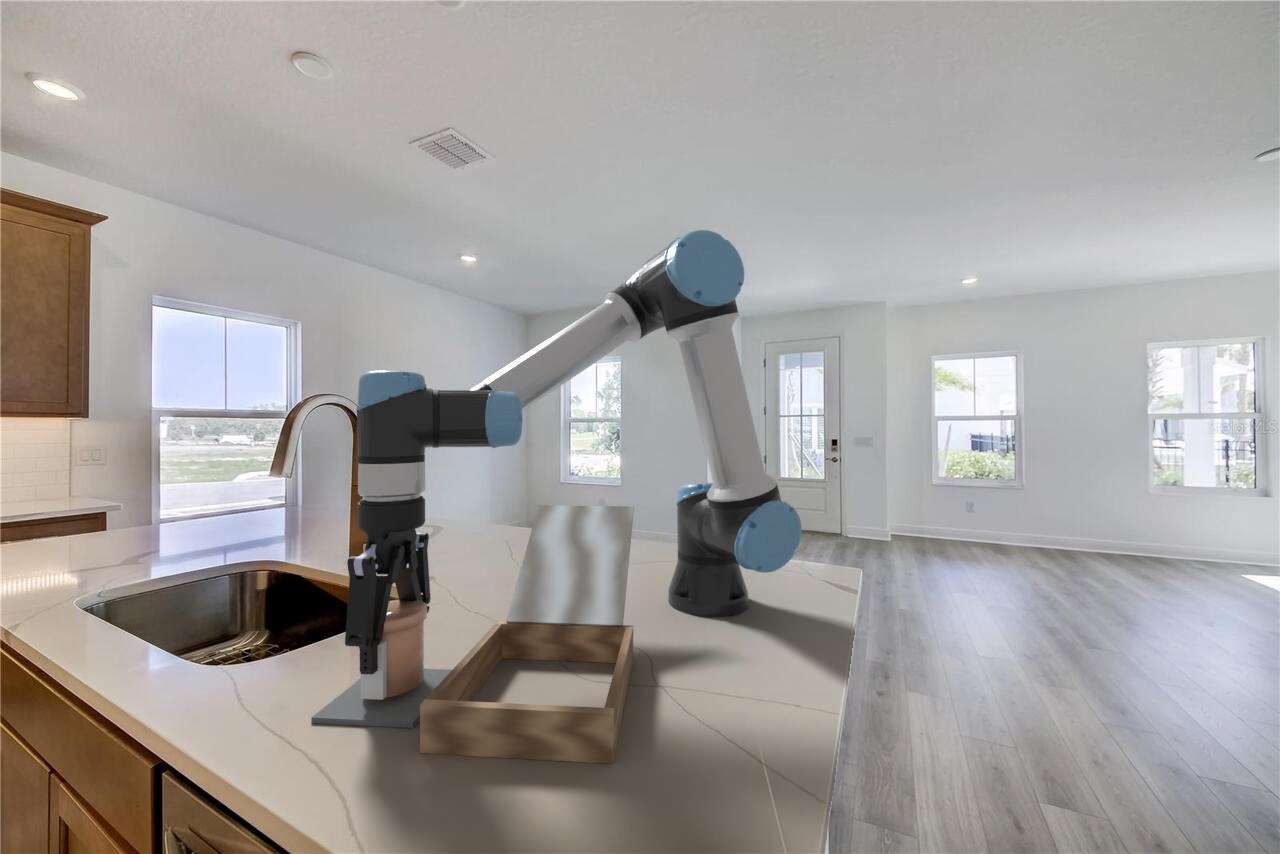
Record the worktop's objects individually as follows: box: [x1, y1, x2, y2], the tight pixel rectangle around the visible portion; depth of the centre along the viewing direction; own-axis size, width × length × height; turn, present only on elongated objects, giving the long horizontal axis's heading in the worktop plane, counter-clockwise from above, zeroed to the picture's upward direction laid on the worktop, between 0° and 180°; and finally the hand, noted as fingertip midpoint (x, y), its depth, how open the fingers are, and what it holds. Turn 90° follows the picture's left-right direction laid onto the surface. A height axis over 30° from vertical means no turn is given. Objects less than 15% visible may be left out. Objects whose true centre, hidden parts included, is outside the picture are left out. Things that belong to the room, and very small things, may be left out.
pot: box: [381, 599, 428, 698], centre depth 62 cm, size 8×8×9 cm
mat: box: [310, 668, 453, 729], centre depth 62 cm, size 12×12×1 cm
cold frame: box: [419, 504, 635, 765], centre depth 70 cm, size 20×39×20 cm, turn 175°
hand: (392, 680), depth 62 cm, fingers closed on pot, 7 cm apart
